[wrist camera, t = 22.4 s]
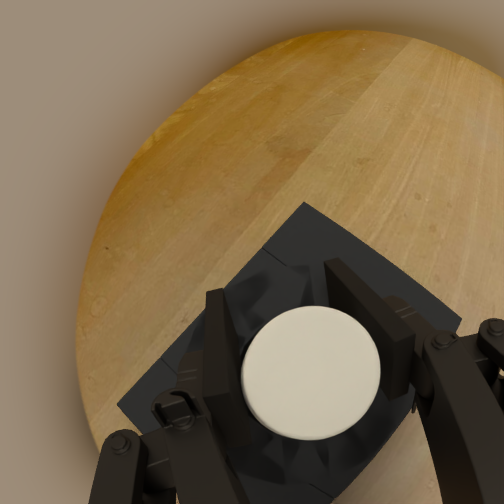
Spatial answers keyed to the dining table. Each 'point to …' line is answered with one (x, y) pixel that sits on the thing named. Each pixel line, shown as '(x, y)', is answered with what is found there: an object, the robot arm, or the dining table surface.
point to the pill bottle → (310, 373)
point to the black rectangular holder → (263, 311)
